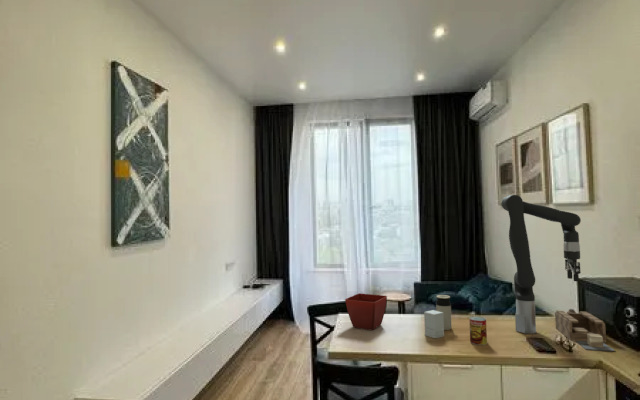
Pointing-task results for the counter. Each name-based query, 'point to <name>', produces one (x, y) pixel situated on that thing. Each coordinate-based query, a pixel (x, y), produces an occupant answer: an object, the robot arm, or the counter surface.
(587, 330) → the station
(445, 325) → the travel mug
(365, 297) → the plant pot
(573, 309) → the vase
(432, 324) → the supplement box
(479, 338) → the canned food
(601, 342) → the block
